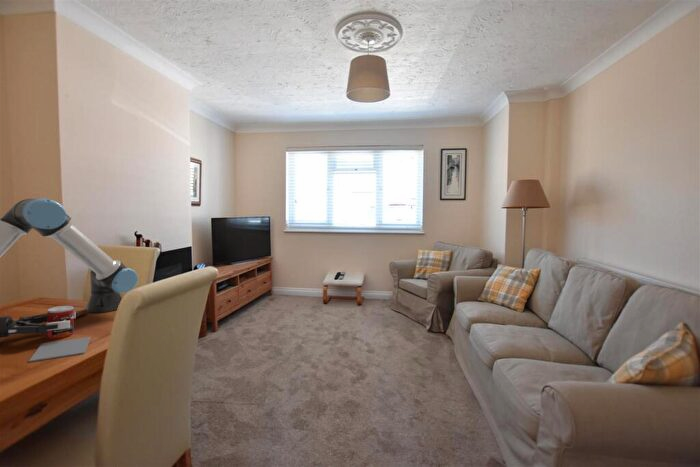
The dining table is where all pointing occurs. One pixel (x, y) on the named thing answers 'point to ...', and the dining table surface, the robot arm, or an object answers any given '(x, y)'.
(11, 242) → the robot arm
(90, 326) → the dining table surface
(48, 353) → the rubber mat
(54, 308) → the canned food
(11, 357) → the dining table surface
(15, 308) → the dining table surface
